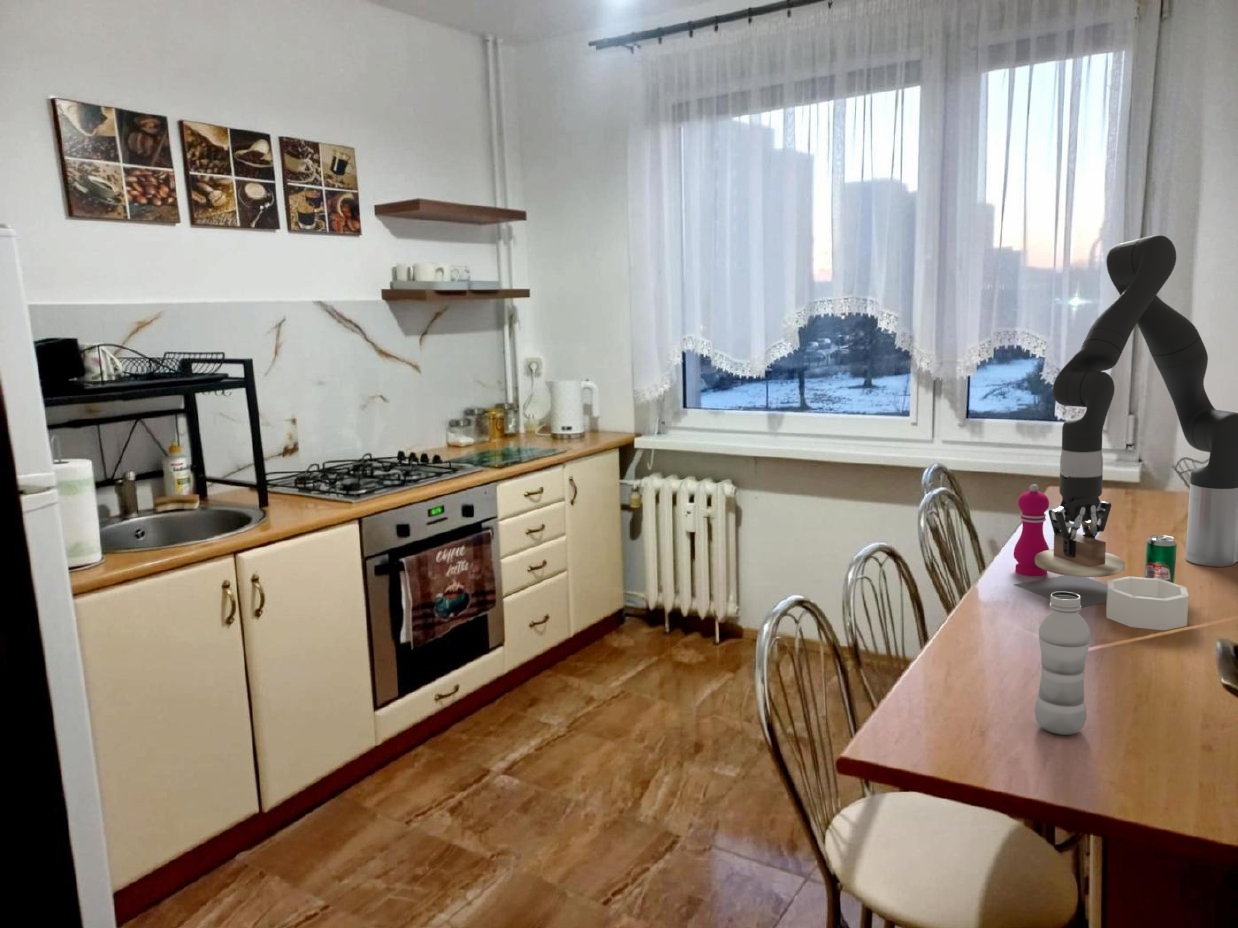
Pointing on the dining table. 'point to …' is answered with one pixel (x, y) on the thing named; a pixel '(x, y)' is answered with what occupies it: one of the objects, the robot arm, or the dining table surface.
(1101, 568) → the lid
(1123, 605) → the bowl
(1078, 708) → the plastic bottle
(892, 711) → the dining table surface
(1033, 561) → the pepper mill
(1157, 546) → the soda can
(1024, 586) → the mat
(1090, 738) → the dining table surface
